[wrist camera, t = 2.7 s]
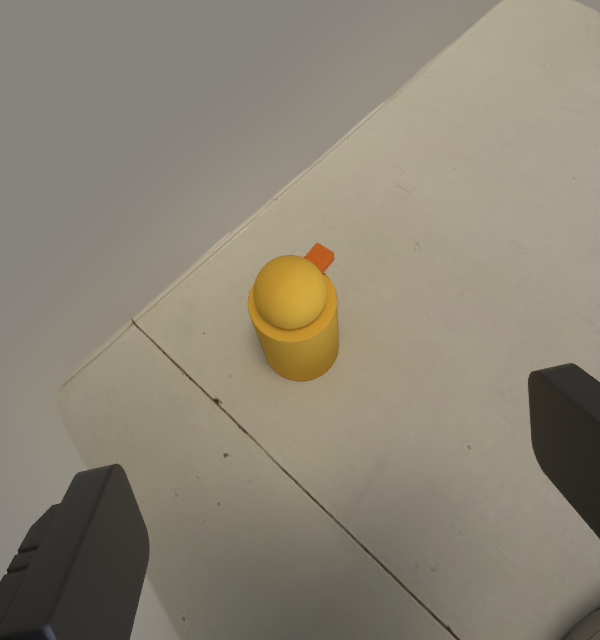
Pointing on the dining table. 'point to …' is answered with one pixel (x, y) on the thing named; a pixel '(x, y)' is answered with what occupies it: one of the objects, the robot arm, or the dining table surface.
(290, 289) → the yellow duck figurine
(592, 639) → the pan
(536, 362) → the dining table surface
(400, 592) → the dining table surface
